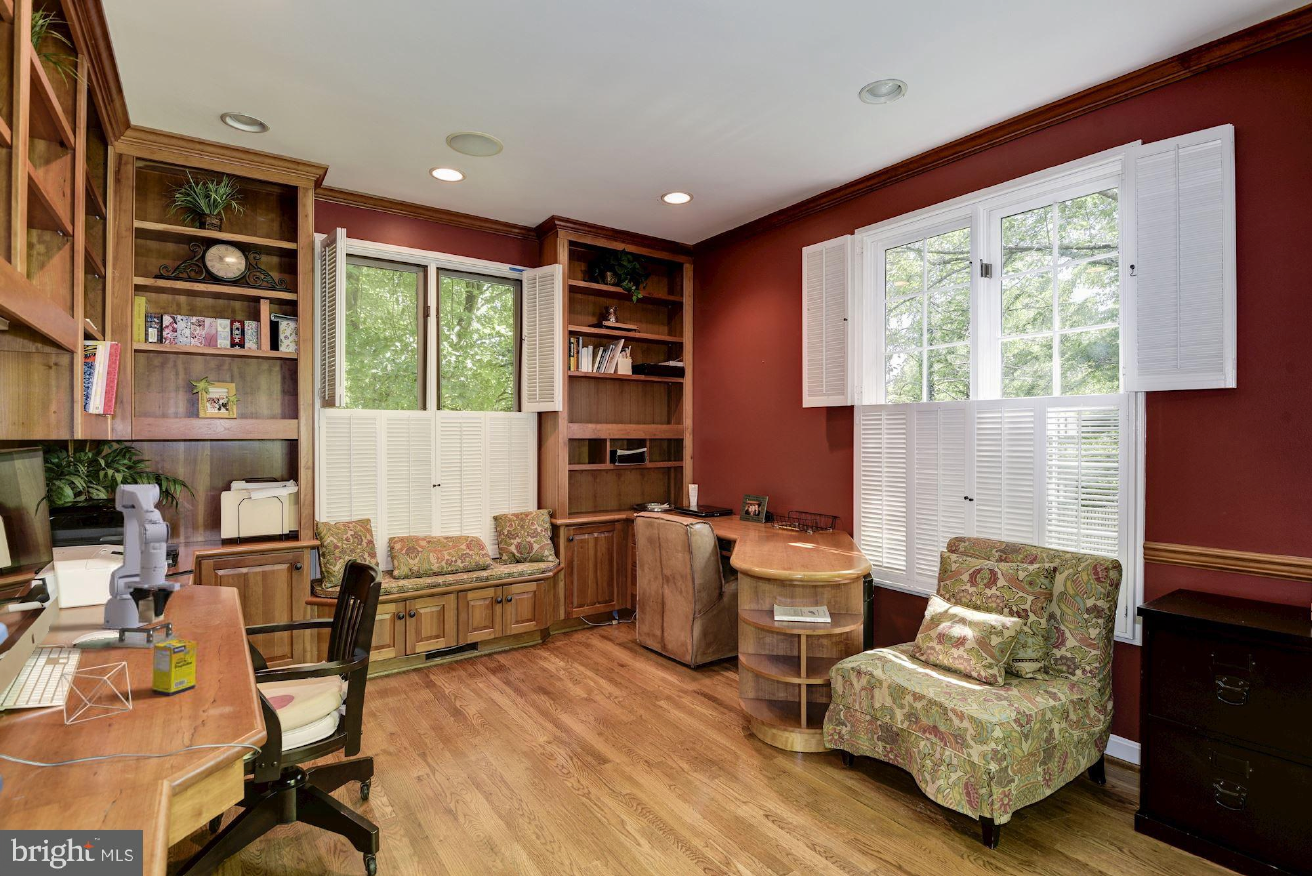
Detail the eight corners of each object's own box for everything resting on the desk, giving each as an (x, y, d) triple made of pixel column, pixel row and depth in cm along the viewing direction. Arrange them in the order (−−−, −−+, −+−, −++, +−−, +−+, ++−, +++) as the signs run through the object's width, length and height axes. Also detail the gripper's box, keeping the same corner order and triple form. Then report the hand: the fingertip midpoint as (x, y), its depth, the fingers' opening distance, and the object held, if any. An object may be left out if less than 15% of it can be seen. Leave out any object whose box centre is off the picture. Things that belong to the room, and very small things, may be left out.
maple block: (138, 622, 186) (139, 600, 186) (149, 619, 190) (150, 597, 190) (152, 623, 185) (153, 601, 185) (163, 619, 189) (164, 598, 189)
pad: (75, 647, 184) (75, 643, 184) (118, 633, 198) (118, 630, 198) (100, 648, 183) (100, 644, 184) (141, 634, 197) (141, 631, 198)
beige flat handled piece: (108, 646, 185) (109, 629, 186) (137, 636, 195) (138, 620, 196) (150, 648, 185) (151, 630, 185) (177, 638, 195) (178, 621, 195)
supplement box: (195, 688, 157) (197, 641, 157) (169, 696, 151) (171, 647, 151) (177, 684, 159) (179, 638, 159) (151, 692, 153) (153, 644, 153)
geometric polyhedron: (141, 701, 148) (143, 659, 149) (121, 720, 138) (122, 675, 138) (72, 707, 144) (73, 664, 144) (45, 727, 134) (47, 681, 134)
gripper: (115, 568, 184) (113, 618, 184) (167, 570, 183) (165, 620, 183) (136, 564, 191) (134, 611, 191) (186, 565, 190) (184, 613, 190)
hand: (150, 615), depth 187 cm, fingers closed on maple block, 4 cm apart
